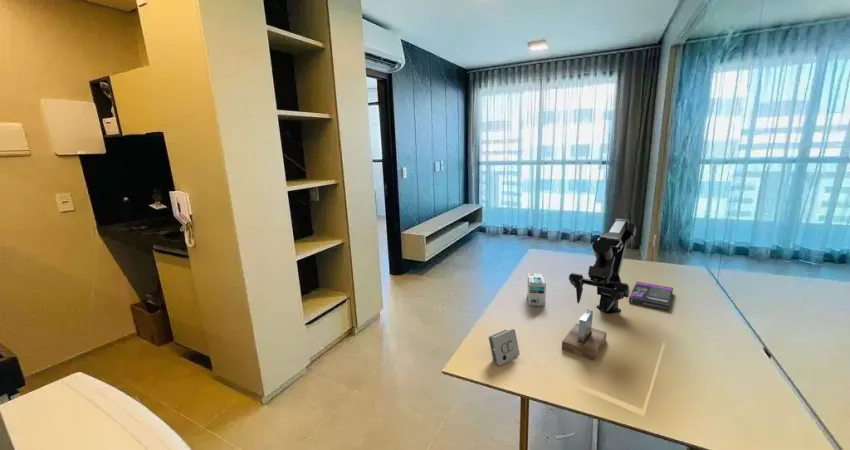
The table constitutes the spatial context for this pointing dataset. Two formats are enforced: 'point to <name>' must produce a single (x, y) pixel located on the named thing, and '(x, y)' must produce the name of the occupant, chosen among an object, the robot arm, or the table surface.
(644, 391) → the table surface
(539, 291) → the light bulb box
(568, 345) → the walnut slot box
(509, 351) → the electrical switch
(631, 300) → the box
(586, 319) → the gray rectangular metal block
